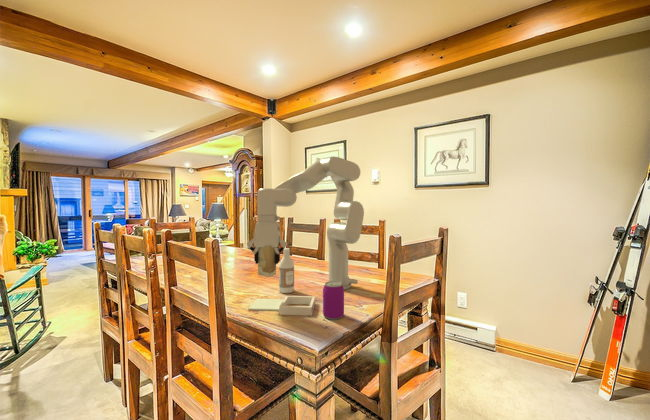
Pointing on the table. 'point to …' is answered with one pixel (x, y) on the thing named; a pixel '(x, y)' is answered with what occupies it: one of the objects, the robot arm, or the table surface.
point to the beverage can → (333, 300)
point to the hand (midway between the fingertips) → (267, 263)
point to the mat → (266, 304)
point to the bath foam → (286, 273)
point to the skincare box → (266, 261)
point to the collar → (297, 309)
